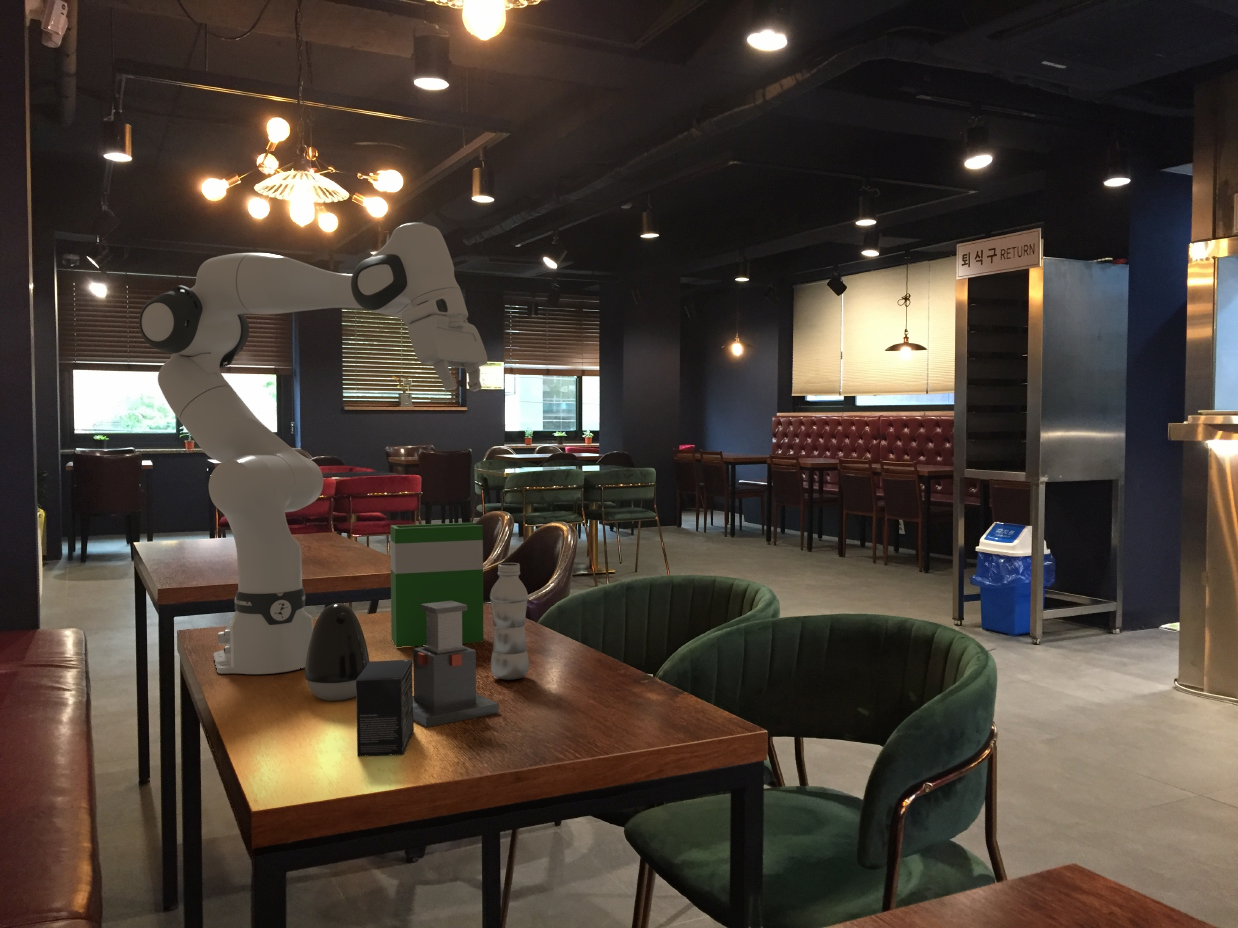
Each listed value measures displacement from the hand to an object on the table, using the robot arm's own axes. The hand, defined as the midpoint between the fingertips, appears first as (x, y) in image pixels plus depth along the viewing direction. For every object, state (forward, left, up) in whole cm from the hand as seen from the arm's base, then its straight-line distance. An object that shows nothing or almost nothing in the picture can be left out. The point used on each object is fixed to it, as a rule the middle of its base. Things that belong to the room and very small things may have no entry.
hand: (464, 389), depth 165 cm
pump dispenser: (-3, -22, -50) cm, 55 cm away
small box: (+24, -25, -50) cm, 61 cm away
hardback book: (-32, +10, -50) cm, 61 cm away
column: (+15, -12, -49) cm, 52 cm away
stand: (+15, -12, -50) cm, 54 cm away
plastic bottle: (+4, +6, -50) cm, 51 cm away
